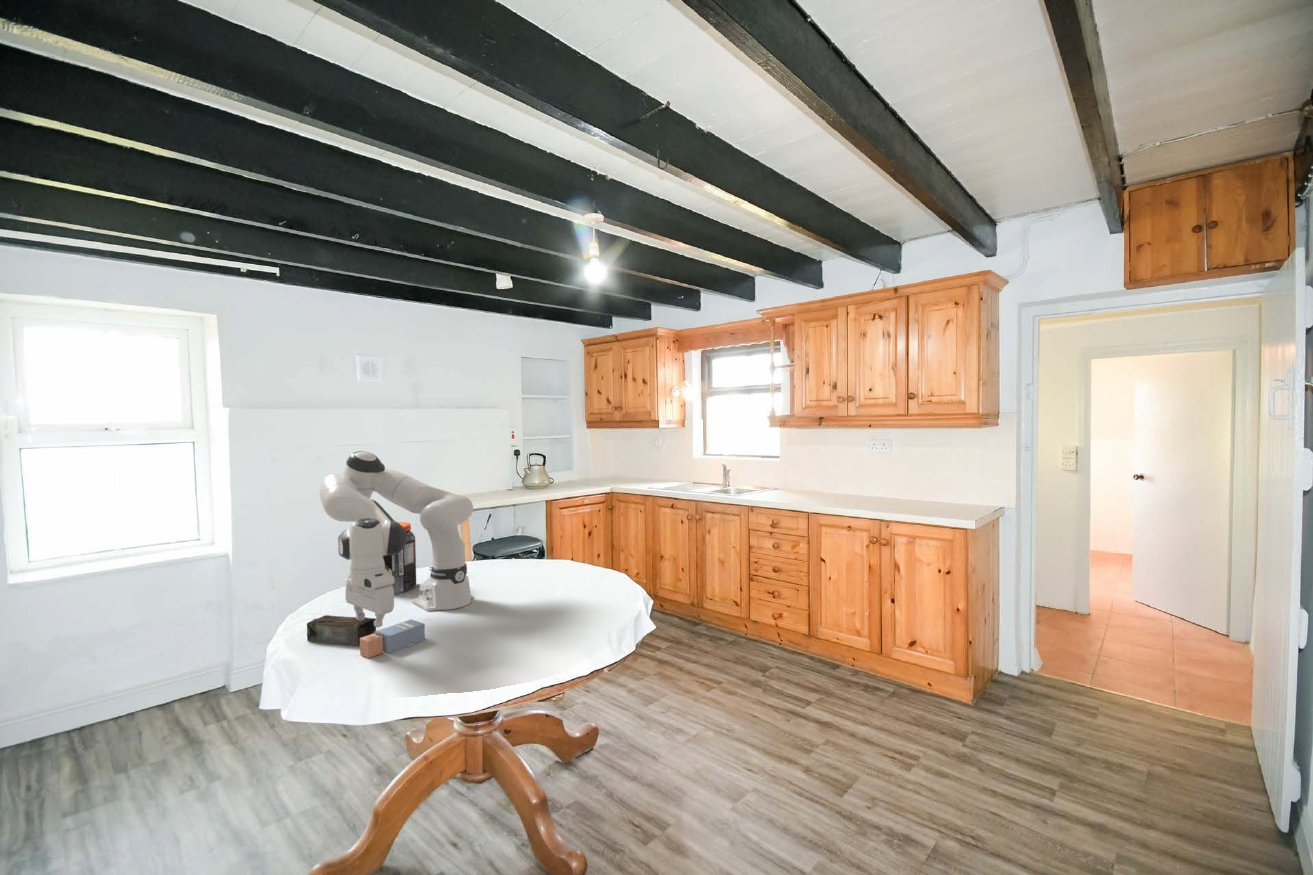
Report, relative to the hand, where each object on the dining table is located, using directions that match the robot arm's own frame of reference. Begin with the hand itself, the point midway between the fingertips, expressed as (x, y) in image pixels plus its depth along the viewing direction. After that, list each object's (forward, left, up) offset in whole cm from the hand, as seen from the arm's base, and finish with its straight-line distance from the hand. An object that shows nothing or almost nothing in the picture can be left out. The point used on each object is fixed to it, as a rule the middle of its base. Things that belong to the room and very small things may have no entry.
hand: (369, 623), depth 164 cm
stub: (0, 0, -9) cm, 9 cm away
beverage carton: (-19, +1, -10) cm, 21 cm away
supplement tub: (-52, +39, -10) cm, 66 cm away
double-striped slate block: (0, +9, -9) cm, 13 cm away
